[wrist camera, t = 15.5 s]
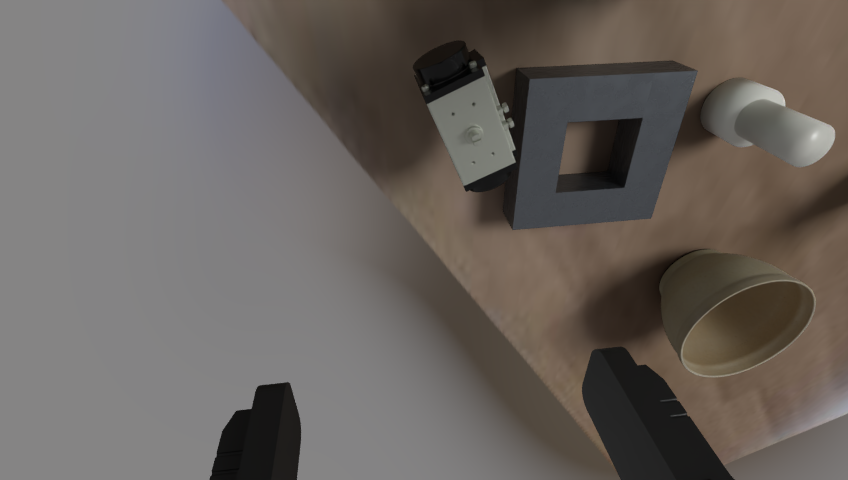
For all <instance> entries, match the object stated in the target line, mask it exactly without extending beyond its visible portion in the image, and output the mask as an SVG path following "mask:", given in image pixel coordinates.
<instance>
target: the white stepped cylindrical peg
mask: <svg viewBox="0 0 848 480" xmlns="http://www.w3.org/2000/svg"><path fill="white" fill-rule="evenodd" d="M700 120H701V124H702V126H703V127H704V128H705V129H706V130H707V131H709V132H711V133H712V134H714V135H716V136H718V137H719V138H721V139H723V140H724V141H726V142H728V143H730V144H731V145H733V146H736V147H747V146H751V145H756V146H758V147H760V148H762V149H763V150H765V151H767V152H769V153H771V154H773V155H774V156H776V157H778V158H780V159H782V160H784V161H785V162H787V163H789V164H791V165H793V166H795V167H804V166H808V165H811V164H813V163H815V162H816V161H818V160H819V159H821V158H822V157H823V156H824V155H825V154H826V153H827V152H828V151H829V149H830V148H831V146H832V144H833V142H834V139H835V131H834V129H833V127H832V126H830V125H828V124H826V123H823V122H821V121H818V120H816V119H814V118H811V117H809V116H806V115H804V114H801V113H799V112H797V111H794V110H792V109H789V108H787V107H785V100H784V97H783V95H782V94H781V93H780V92H779V91H777V90H775V89H772V88H769V87H767V86H764V85H762V84H759V83H756V82H754V81H751V80H749V79H746V78H733V79H730V80H727V81H725V82H723V83H722V84H720V85H719V86H717V87H716V88H715V89H714V90H713V91H712V92H711V93H710V94H709V95H708V97H707V98H706V100H705V102H704V103H703V106H702V109H701V113H700Z"/></svg>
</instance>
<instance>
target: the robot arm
mask: <svg viewBox="0 0 848 480" xmlns="http://www.w3.org/2000/svg"><path fill="white" fill-rule="evenodd" d="M582 394H583V400H584V403H585V406H586V409H587V411H588V413H589V415H590V417H591V419H592V421H593V423H594V425H595V427H596V429H597V431H598V433H599V436H600V438H601V440H602V442H603V444H604V446H605V448H606V450H607V452H608V454H609V456H610V458H611V460H612V462H613V464H614V466H615V468H616V470H617V472H618V475H619V477H620V479H621V480H734V479H733V478H732V476H731V475H730V474H729V473H728V471H727V470H726V468H725V467H724V465H723V464H722V463H721V461H720V460H719V458H718V457H717V455H716V454H715V452H714V451H713V450H712V448H711V447H710V445H709V444H708V442H707V441H706V439H705V438H704V437H703V435H702V434H701V432H700V431H699V429H698V428H697V426H696V425H695V424H694V422H693V421H692V419H691V418H690V416H689V417H688V416H687V412H686V411H685V409H684V408H683V406H682V405H681V403H680V402H679V401H677V399H676V396H675V395H674V393H673V392H672V390H671V389H670V387H669V386H668V385H667V383H666V382H665V380H664V379H663V378H661V377H660V376H659V375H658V374H657V373H655V372H654V371H653V370H652V369H650V368H649V367H648V366H647V365H639V366H637V364H636V363H635V361H634V360H633V358H632V357H631V355H630V354H629V352H628V351H627V350H626V349H625V348H624V347H613V348H604V349H595V350H593V351H592V353H591V357H590V360H589V364H588V367H587V371H586V374H585V378H584V381H583V385H582ZM300 424H301V423H300V417H299V413H298V410H297V406H296V403H295V399H294V396H293V392H292V389H291V385H290V383H288V382H287V383H278V384H269V385H260V386H258V387H257V389H256V392H255V397H254V401H253V406H252V409H247V410H239V411H236V412H235V414H234V415H233V416H232V418H231V419H230V421H229V422H228V424H227V425H226V427H225V428H224V429H223V431H222V435H221V438H220V442H219V446H218V450H217V457H216V458H215V461H214V465H213V469H212V476H211V477H210V480H297V472H298V463H299V454H300V444H301V425H300Z"/></svg>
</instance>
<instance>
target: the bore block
mask: <svg viewBox="0 0 848 480" xmlns="http://www.w3.org/2000/svg"><path fill="white" fill-rule="evenodd" d="M697 72H698V71H697V70H695V69H692V68H690V67H687V66H685V65H682V64H680V63H677V62H675V61H655V62H634V63H613V64H593V65H572V66H551V67H530V68H517V70H516V80H515V90H514V100H513V111H512V120H513V123H514V127H512V128H511V131H510V134H511V137H512V140H513V143H514V146H515V149H516V152H517V154H518V155H517V156H515V157H514V158H515V161H516V164H517V167H518V168H517V169H515V170H513V171H511V174H510V176H509V178H508V179H507V180H506V183H505V193H504V203H503V213H504V215H505V217H506V218H507V220H508V222H509V224H510V226H511V228H512V230H517V229H529V228H541V227H553V226H565V225H577V224H589V223H601V222H614V221H626V220H638V219H650V218H651V217H652V214H653V211H654V208H655V204H656V201H657V198H658V195H659V192H660V189H661V185H662V182H663V179H664V176H665V173H666V170H667V167H668V163H669V160H670V157H671V154H672V151H673V148H674V144H675V141H676V138H677V135H678V132H679V129H680V125H681V122H682V119H683V116H684V113H685V110H686V106H687V103H688V100H689V97H690V94H691V91H692V87H693V84H694V81H695V78H696V75H697ZM615 119H619V123H618V128H617V132H616V136H615V140H614V145H613V149H612V153H611V157H610V162H609V166H608V170H607V171H606V172H593V173H579V174H565V175H559V169H560V163H561V158H562V152H563V146H564V140H565V134H566V128H567V122H582V121H598V120H615Z"/></svg>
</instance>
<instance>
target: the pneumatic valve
mask: <svg viewBox="0 0 848 480" xmlns="http://www.w3.org/2000/svg"><path fill="white" fill-rule="evenodd" d="M413 69H414V72H415V74H416V75H414V76H415V79H416V81H417V83H418V86H419V88H420V91H421V93H422V95H423V98H424V100H425V102H426V104H427V106H428V109H429V111H430V113H431V115H432V118H433V120H434V122H435V124H436V126H437V129H438V131H439V133H440V135H441V137H442V140H443V142H444V144H445V146H446V148H447V151H448V153H449V155H450V157H451V160H452V162H453V164H454V166H455V168H456V171H457V173H458V175H459V177H460V179H461V182H462V184H463V186H464V188H465V191H469V190H470V191H473V192H484V191H488V190H491V189H494V188H496V187H498V186H500V185H501V184H502V183H504V182H505V181H506V180H507V179H508V178H509V176H510V174H511V171H513V170H515V169H517V168H518V167H517V164H516V161H515V158H514V157H515V156H517V155H518V154H517V152H516V149H515V146H514V143H513V140H512V137H511V134H510V132H509V127H510V128H512V127H514V123H513V120H512V119H511V118H508V119H507V122H506V120H505V117H504V115H503V111H504V112H505V113H507V112H509V108H508V106H507V104H506V102H505V103H502V107H501V106H500V103H499V100H498V97H497V95H496V92H495V89H494V86H493V83H492V80H491V77H490V75H489V72H488V69H487V66H486V63H485V60H484V58H483V57H482V56H481V55H480V54H479V53H478V52H477V51H476V50H475V49H474V50H472V51H470V52H469V51H468V49H467V46H466V43H465V42H464V41H453V42H449V43H446V44H443V45H441V46H439V47H437V48H434V49H433V50H431V51H429V52H427V53H426V54H424V55H423V56H421V57H420V58H419V59H418V60H417V61H416V62H415V63H414V65H413ZM508 126H509V127H508Z"/></svg>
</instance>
